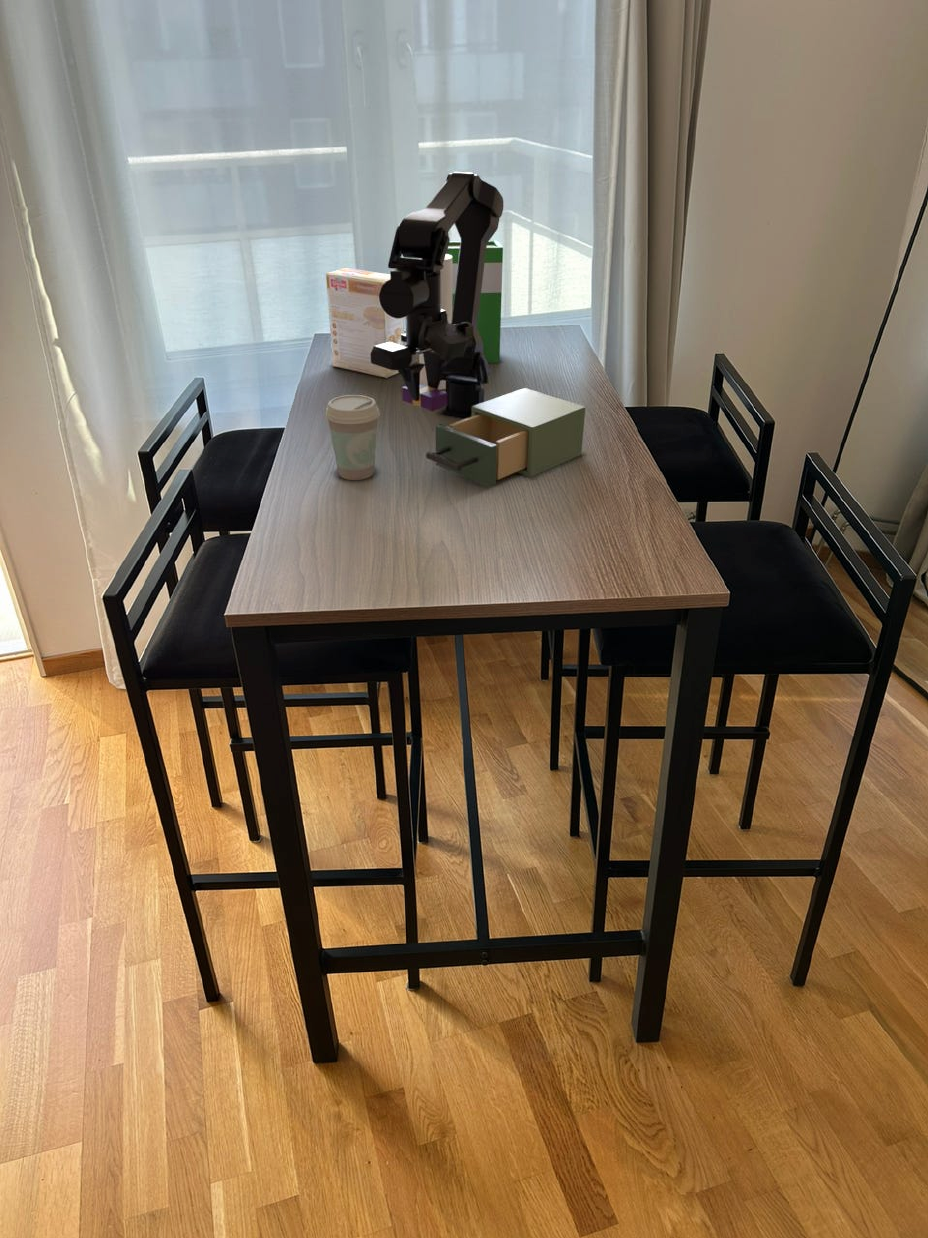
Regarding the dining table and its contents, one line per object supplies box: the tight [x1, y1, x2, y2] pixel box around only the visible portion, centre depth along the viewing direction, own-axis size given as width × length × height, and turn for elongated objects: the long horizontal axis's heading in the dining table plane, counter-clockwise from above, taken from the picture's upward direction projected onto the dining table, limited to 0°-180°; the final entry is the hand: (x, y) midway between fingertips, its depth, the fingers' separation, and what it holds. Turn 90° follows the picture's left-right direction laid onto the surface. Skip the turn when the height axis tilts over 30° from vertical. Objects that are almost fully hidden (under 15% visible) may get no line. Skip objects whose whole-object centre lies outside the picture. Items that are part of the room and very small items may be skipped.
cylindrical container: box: [414, 254, 452, 391], centre depth 178 cm, size 7×7×25 cm
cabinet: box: [471, 387, 586, 478], centre depth 151 cm, size 14×14×9 cm
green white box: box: [446, 240, 504, 364], centre depth 193 cm, size 18×7×24 cm, turn 98°
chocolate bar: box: [401, 384, 447, 412], centre depth 151 cm, size 8×4×2 cm, turn 46°
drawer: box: [425, 414, 529, 488], centre depth 144 cm, size 17×12×7 cm
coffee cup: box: [325, 394, 381, 481], centre depth 143 cm, size 9×8×12 cm
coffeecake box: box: [325, 267, 405, 379], centre depth 187 cm, size 15×7×20 cm, turn 58°
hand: (424, 397), depth 151 cm, fingers closed on chocolate bar, 4 cm apart
